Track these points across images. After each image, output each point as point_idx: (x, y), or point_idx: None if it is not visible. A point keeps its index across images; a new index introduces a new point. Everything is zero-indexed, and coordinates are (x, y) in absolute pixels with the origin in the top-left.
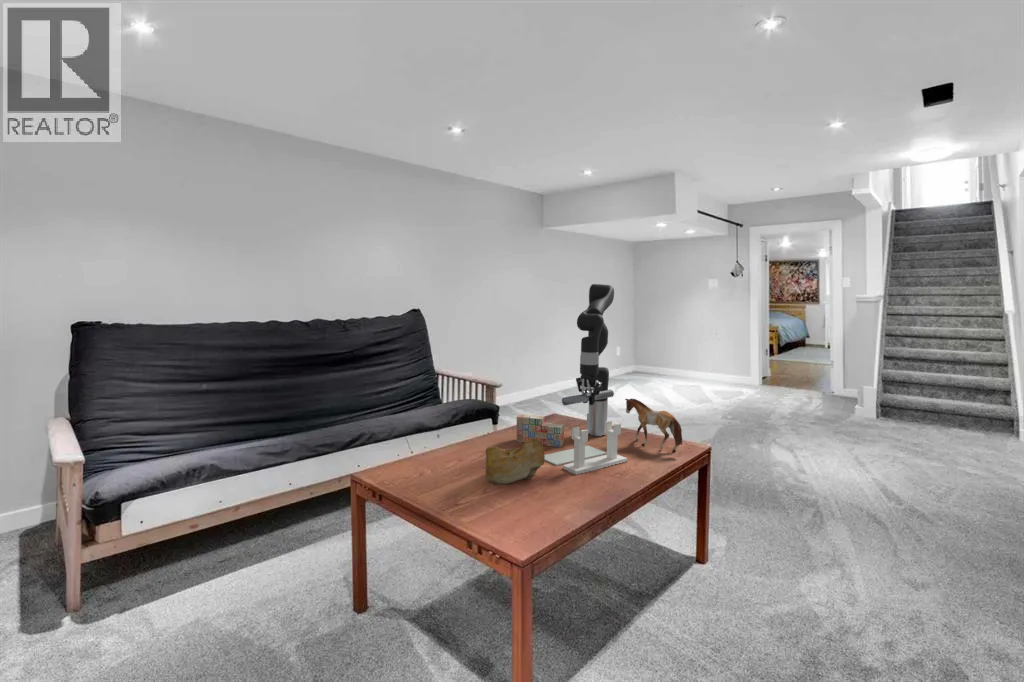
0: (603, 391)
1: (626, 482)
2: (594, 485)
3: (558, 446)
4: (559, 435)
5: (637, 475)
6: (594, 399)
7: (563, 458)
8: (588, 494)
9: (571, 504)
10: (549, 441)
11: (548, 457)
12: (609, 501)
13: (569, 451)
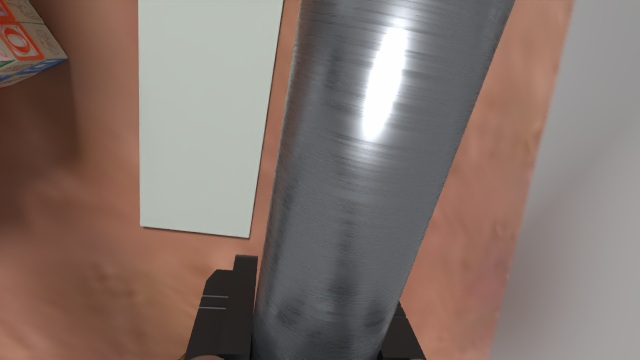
0: (471, 37)
1: (486, 187)
2: (423, 262)
3: (59, 61)
4: (20, 62)
5: (497, 112)
6: (409, 330)
7: (217, 178)
8: (437, 306)
9: (432, 356)
10: (3, 83)
11: (173, 209)
12: (491, 300)
13: (163, 92)
